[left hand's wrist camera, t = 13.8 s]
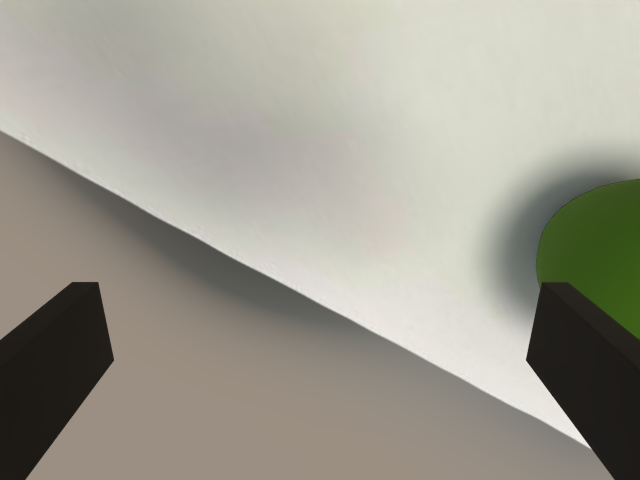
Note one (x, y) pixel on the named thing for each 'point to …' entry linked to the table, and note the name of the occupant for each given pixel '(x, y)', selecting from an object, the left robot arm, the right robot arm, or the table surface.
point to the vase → (598, 250)
